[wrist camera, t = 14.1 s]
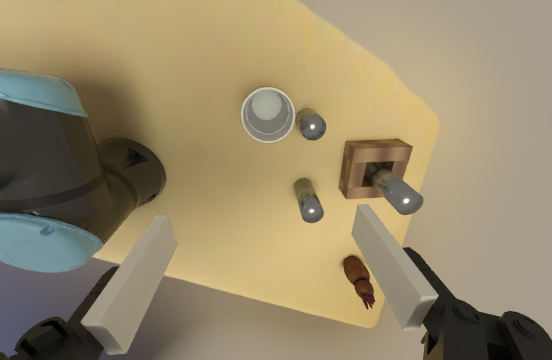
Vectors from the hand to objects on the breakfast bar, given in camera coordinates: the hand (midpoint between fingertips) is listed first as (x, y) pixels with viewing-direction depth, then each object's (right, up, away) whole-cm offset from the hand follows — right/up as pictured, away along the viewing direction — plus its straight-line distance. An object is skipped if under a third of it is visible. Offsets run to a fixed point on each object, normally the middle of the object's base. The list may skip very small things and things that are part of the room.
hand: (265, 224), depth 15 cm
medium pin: (+7, +2, +36) cm, 37 cm away
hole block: (+22, +7, +34) cm, 41 cm away
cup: (-1, +18, +26) cm, 32 cm away
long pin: (+22, +7, +34) cm, 41 cm away
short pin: (+7, +16, +28) cm, 33 cm away
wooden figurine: (+24, -22, +50) cm, 60 cm away
